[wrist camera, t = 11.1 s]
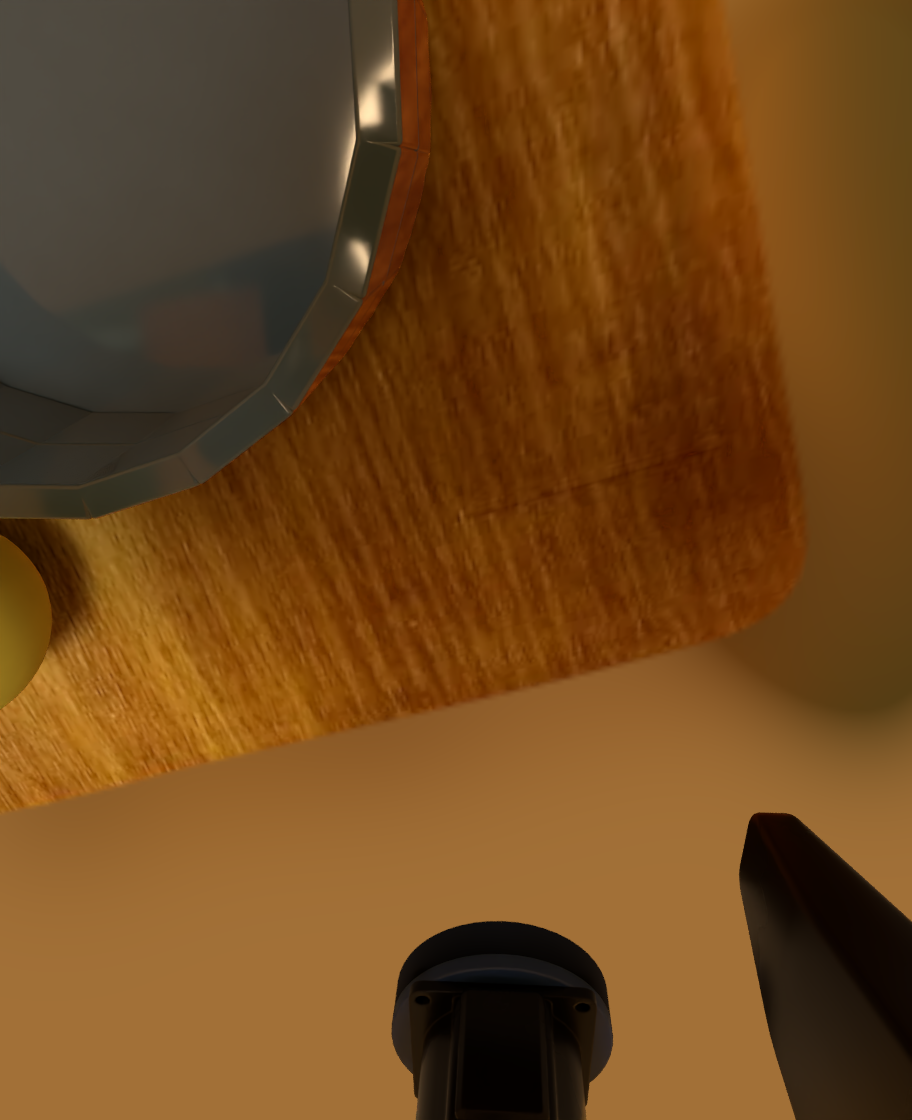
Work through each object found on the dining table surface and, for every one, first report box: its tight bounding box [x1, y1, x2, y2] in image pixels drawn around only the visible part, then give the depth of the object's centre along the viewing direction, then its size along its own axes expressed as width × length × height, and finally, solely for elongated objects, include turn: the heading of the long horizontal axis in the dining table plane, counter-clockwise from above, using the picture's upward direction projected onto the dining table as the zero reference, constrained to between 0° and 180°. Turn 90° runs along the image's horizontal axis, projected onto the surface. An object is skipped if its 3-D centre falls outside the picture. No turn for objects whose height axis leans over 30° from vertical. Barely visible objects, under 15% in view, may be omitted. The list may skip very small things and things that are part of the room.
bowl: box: [0, 0, 432, 519], centre depth 14 cm, size 14×14×6 cm
